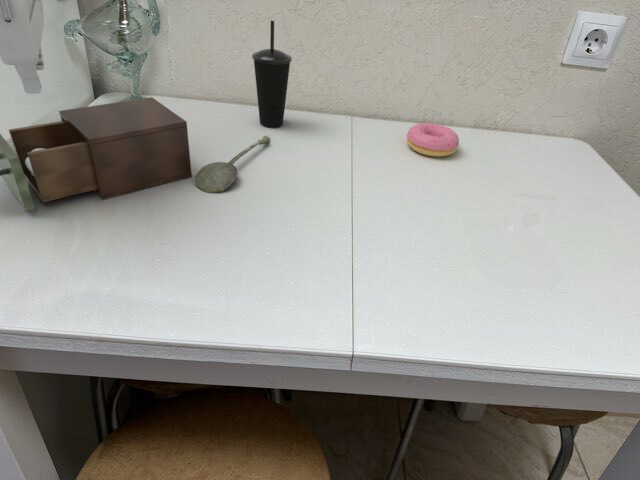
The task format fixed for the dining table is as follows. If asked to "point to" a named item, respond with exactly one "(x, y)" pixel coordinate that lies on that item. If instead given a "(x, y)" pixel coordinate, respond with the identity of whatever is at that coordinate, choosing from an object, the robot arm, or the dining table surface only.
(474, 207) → the dining table surface
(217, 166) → the soupspoon
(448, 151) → the doughnut
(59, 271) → the dining table surface
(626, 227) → the dining table surface
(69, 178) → the drawer
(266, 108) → the drinking cup
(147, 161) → the cabinet
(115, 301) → the dining table surface
